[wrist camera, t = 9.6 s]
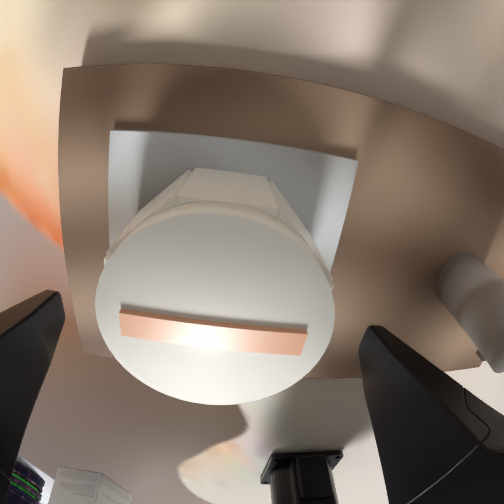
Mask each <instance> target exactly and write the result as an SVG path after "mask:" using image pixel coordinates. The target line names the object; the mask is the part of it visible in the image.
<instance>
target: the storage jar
mask: <svg viewBox="0 0 504 504" xmlns="http://www.w3.org/2000/svg"><path fill="white" fill-rule="evenodd" d="M10 481H11V482H10V486H9V490H8V494H7V499H6V503H5V504H39V502H38V501H40V500H41V497H42V495H41V494H40V493H42V487H43V486H44V484H45V481H44V480H43V479H42V478H41V477H40V476H39V475H38V474H36V473H35V472H34V471H32V470H31V469H29V468H28V467H26V466H25V465H23V464H21V463H20V462H18V461H16V463H15V466H14V470H13V473H12V477H11V480H10Z"/></svg>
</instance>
